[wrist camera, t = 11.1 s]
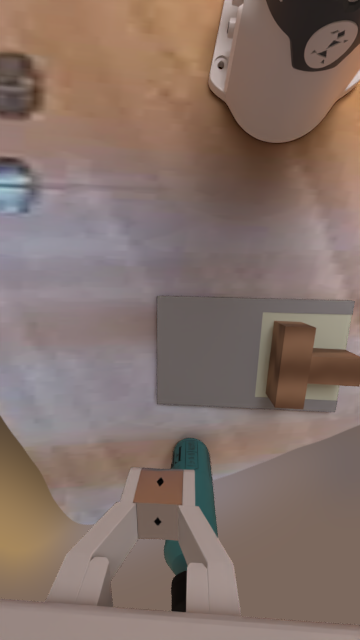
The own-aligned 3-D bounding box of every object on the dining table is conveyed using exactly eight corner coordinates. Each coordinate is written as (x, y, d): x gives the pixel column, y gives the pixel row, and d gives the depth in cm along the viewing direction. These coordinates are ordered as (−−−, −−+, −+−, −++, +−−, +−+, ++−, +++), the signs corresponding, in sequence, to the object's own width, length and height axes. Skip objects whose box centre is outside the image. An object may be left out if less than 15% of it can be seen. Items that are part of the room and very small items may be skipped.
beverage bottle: (179, 425, 38) (168, 581, 19) (215, 438, 38) (240, 606, 19) (168, 455, 39) (145, 630, 20) (202, 467, 40) (213, 652, 20)
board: (158, 295, 34) (157, 296, 33) (348, 300, 33) (354, 301, 31) (158, 399, 37) (157, 403, 36) (330, 407, 36) (335, 412, 35)
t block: (274, 320, 33) (285, 326, 29) (349, 323, 32) (371, 330, 28) (265, 393, 35) (274, 407, 31) (335, 397, 35) (353, 412, 31)
